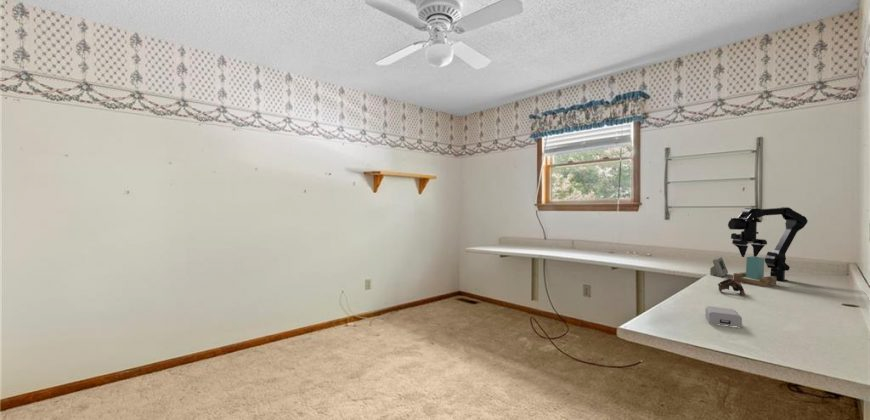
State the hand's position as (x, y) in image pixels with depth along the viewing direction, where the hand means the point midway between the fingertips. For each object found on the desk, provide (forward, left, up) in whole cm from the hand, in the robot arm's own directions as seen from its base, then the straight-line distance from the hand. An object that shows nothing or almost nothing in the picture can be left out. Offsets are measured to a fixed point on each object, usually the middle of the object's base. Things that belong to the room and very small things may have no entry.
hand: (749, 256), depth 211 cm
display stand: (+8, +9, -13) cm, 18 cm away
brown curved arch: (+44, +24, -13) cm, 52 cm away
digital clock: (+5, -12, -13) cm, 19 cm away
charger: (+91, +56, -14) cm, 107 cm away
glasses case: (+8, +9, -10) cm, 16 cm away
